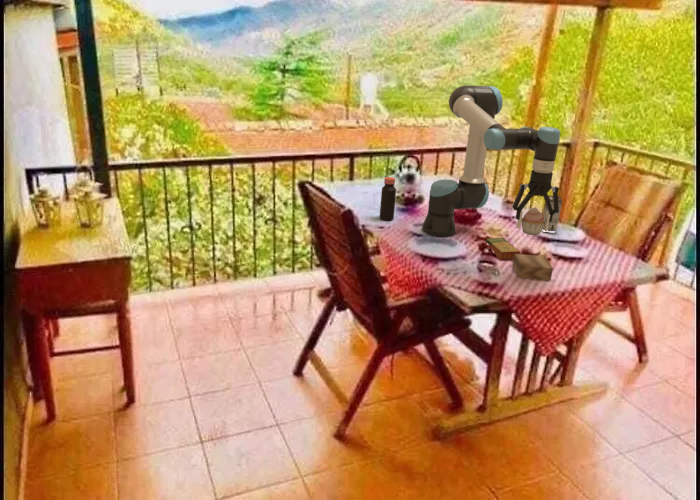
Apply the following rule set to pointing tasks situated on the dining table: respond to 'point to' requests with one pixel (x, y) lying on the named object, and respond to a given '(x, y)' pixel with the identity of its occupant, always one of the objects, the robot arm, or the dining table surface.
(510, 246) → the carton
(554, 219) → the coffee box
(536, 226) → the cupcake
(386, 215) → the bottle
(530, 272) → the block
